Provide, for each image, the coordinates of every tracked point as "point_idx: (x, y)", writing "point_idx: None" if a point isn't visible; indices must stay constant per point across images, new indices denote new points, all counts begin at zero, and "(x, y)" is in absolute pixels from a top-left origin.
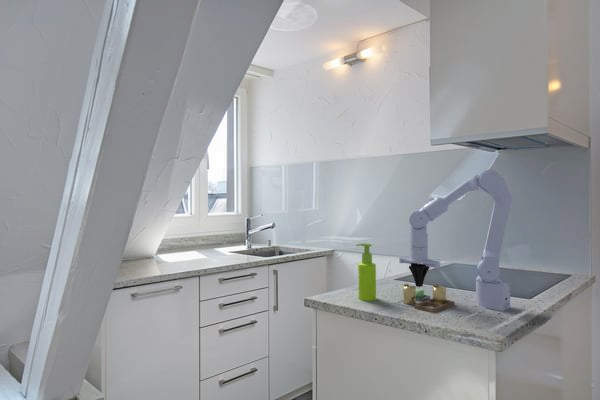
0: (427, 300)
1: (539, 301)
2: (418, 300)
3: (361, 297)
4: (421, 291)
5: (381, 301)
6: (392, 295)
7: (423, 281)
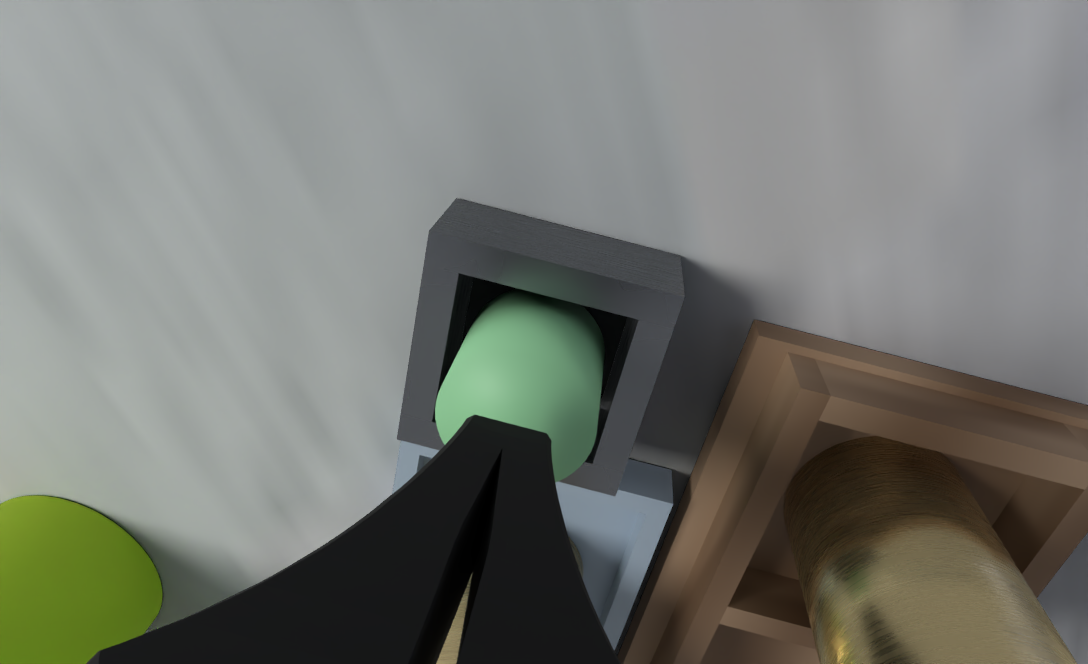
0: (719, 575)
1: None
2: None
3: None
4: (569, 466)
5: (155, 490)
6: (43, 142)
7: (554, 488)
